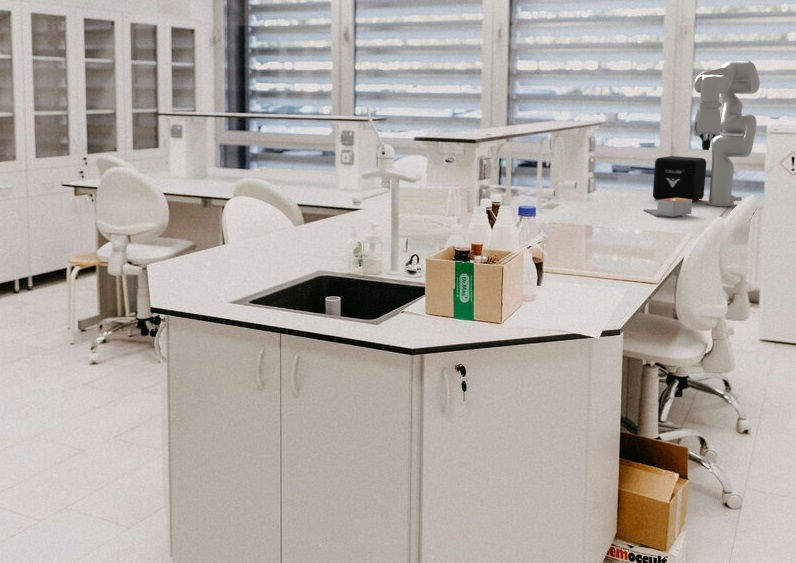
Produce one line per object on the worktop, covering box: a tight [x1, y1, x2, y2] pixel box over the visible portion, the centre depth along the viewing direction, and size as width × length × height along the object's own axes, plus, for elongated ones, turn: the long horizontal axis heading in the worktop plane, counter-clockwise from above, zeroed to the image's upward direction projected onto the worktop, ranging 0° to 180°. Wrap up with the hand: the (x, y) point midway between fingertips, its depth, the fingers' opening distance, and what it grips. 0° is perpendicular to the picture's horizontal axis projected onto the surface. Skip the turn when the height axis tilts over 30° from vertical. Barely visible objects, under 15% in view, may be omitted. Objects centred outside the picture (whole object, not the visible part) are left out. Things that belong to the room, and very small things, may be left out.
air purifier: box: [652, 155, 707, 202], centre depth 435 cm, size 20×15×20 cm
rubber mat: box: [643, 208, 684, 218], centre depth 392 cm, size 11×18×1 cm, turn 3°
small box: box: [656, 198, 693, 216], centre depth 386 cm, size 8×6×13 cm
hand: (705, 149), depth 388 cm, fingers closed
